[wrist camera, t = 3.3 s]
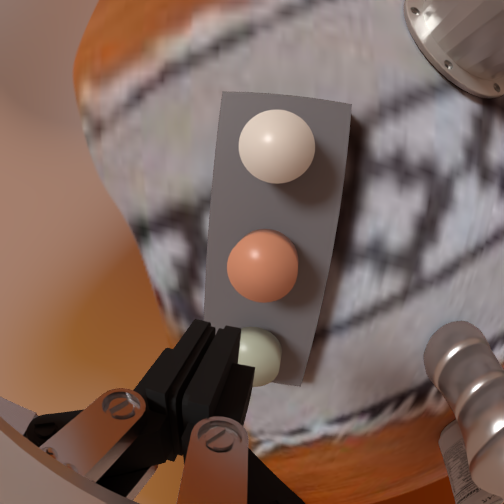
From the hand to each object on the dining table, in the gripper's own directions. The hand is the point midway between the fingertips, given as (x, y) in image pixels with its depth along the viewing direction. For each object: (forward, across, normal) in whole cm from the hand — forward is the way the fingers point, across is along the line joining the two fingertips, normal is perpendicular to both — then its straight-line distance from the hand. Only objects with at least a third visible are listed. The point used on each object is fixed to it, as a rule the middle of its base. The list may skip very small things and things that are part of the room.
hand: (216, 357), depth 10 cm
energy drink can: (+14, -29, +20) cm, 38 cm away
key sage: (+10, -1, +7) cm, 12 cm away
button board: (+13, -1, -1) cm, 13 cm away
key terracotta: (+11, -1, -1) cm, 11 cm away
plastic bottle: (+13, -19, +6) cm, 24 cm away
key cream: (+11, -1, -8) cm, 14 cm away
